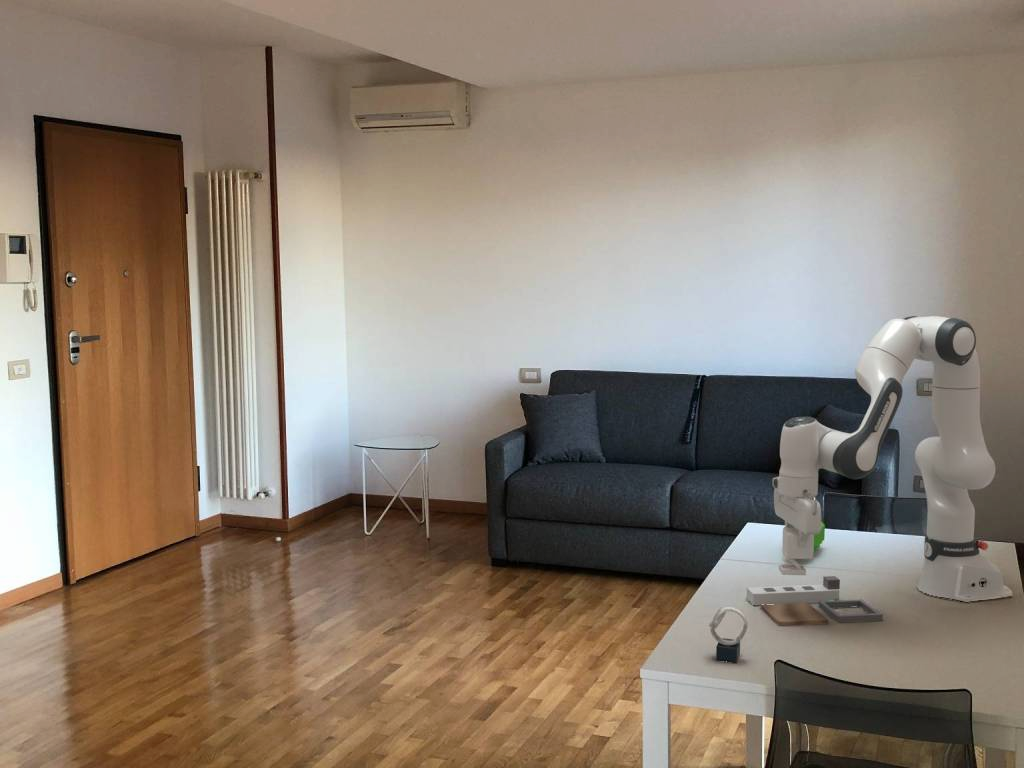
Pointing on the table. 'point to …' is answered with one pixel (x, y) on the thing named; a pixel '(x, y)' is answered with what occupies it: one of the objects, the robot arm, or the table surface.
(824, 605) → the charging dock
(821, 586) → the power strip
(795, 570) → the security camera
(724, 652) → the watch
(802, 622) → the walnut pad
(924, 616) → the table surface
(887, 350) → the robot arm
